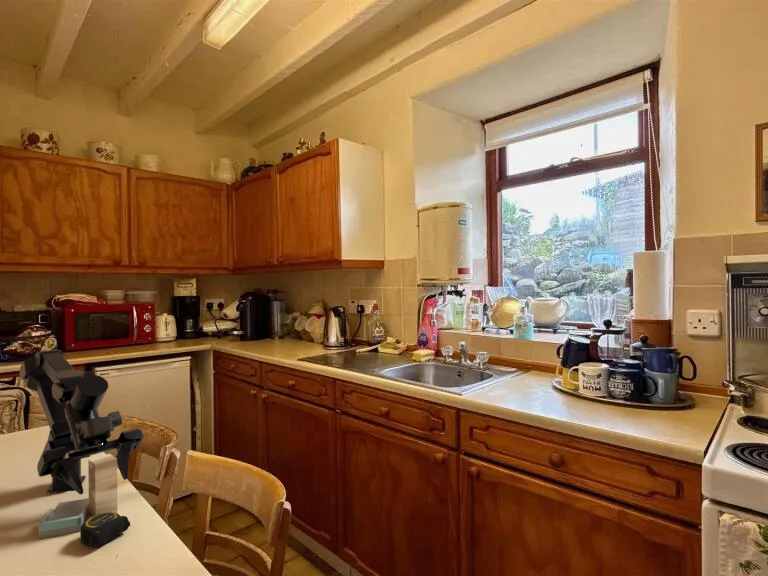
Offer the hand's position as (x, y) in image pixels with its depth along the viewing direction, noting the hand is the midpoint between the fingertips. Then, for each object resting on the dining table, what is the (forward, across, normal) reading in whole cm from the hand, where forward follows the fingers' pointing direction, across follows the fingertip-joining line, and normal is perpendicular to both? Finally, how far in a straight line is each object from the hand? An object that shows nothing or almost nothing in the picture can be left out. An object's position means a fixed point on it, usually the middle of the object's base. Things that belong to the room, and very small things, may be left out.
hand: (104, 485), depth 91 cm
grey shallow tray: (+1, -5, +8) cm, 10 cm away
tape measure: (+11, -3, -1) cm, 11 cm away
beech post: (+4, 0, +6) cm, 7 cm away
